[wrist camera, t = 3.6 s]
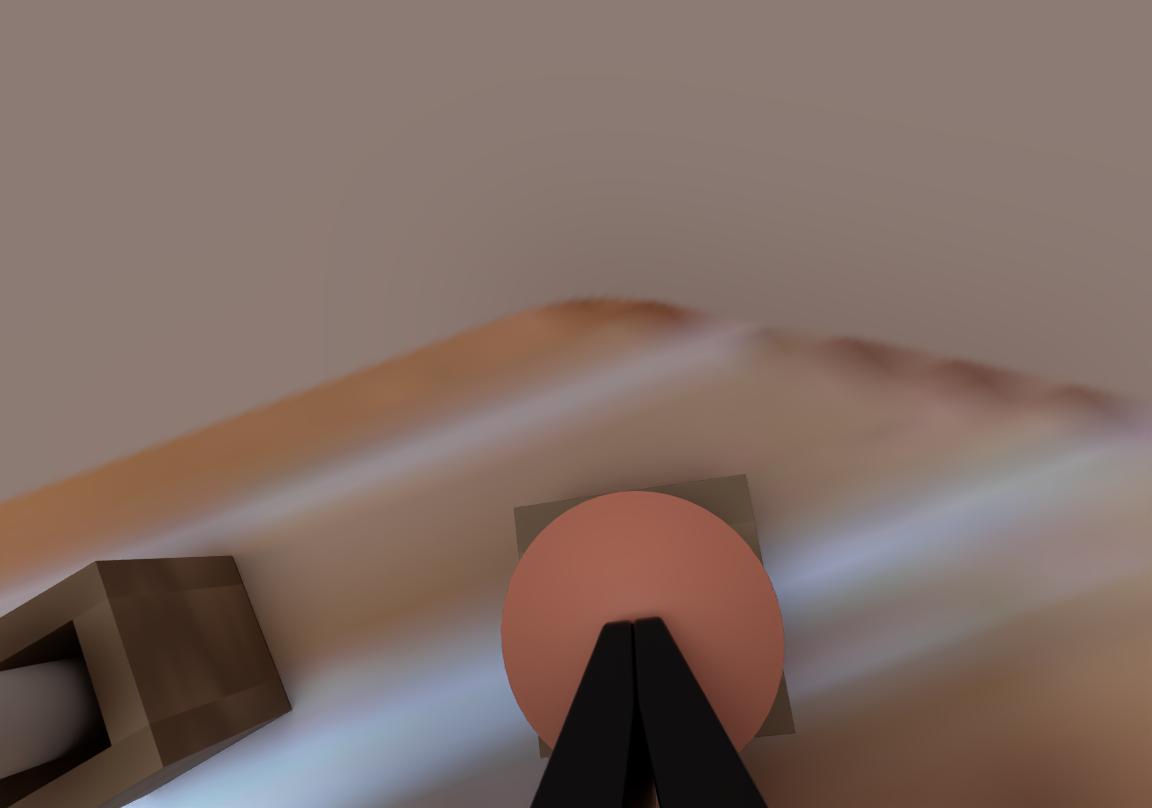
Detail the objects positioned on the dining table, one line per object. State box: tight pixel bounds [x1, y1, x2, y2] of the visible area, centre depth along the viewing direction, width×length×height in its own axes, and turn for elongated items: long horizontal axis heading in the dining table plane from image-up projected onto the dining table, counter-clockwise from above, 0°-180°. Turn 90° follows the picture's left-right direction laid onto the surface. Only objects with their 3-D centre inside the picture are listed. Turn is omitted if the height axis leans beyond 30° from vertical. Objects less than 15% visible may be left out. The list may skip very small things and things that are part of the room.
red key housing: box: [514, 474, 795, 758], centre depth 14 cm, size 5×5×4 cm
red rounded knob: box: [501, 491, 784, 753], centre depth 12 cm, size 4×4×5 cm
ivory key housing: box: [0, 556, 291, 808], centre depth 15 cm, size 5×5×4 cm
